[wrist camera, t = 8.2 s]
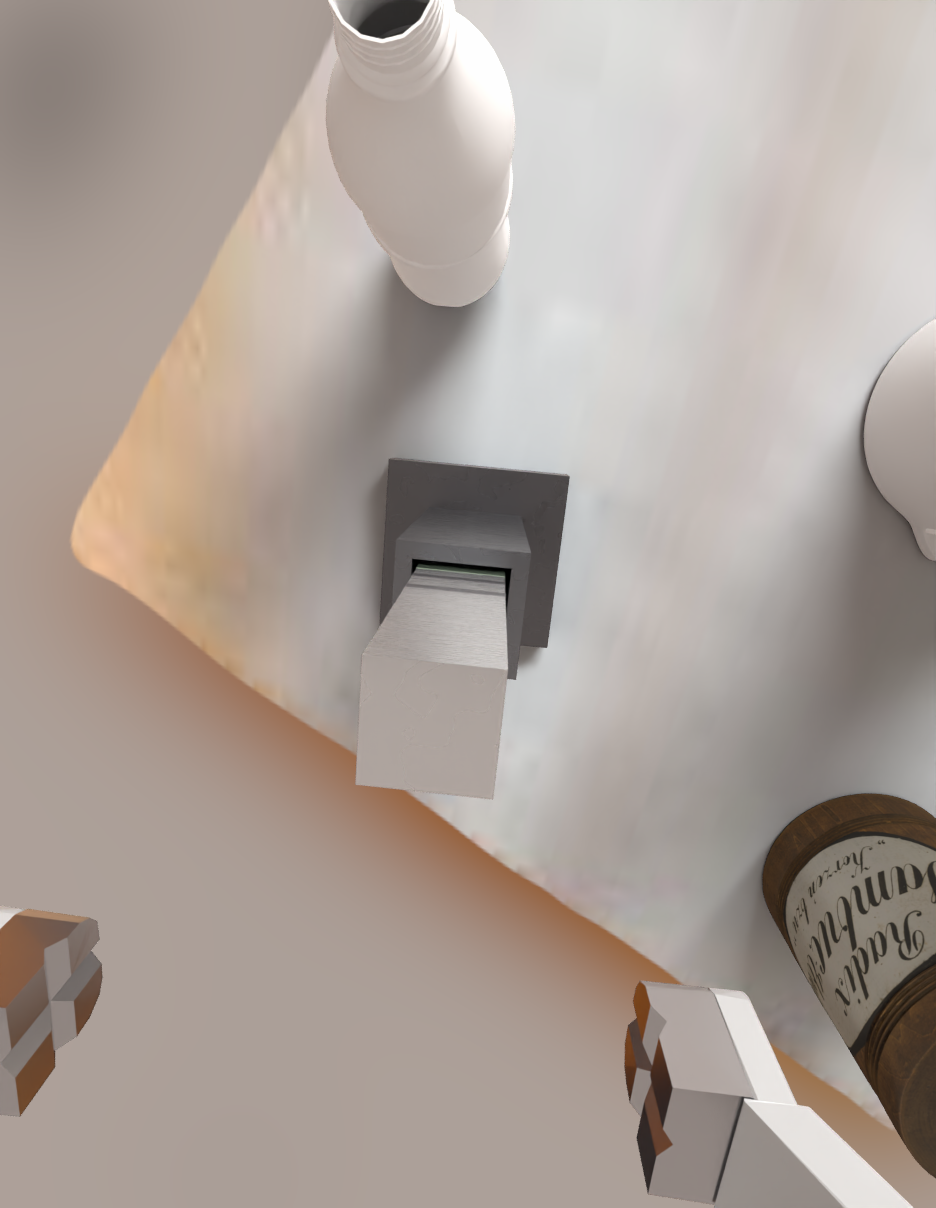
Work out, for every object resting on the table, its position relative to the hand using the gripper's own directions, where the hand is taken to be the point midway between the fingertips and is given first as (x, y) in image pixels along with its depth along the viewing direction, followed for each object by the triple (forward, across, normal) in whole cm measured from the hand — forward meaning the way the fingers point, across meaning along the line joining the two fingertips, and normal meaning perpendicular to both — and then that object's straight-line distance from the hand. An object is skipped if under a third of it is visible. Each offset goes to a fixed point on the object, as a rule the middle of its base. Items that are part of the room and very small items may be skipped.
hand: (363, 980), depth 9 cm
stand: (+37, 0, 0) cm, 37 cm away
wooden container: (+37, -33, +23) cm, 55 cm away
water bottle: (+37, +3, -19) cm, 42 cm away
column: (+28, 0, 0) cm, 28 cm away
